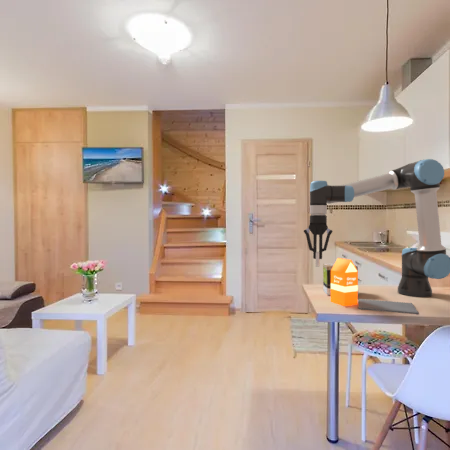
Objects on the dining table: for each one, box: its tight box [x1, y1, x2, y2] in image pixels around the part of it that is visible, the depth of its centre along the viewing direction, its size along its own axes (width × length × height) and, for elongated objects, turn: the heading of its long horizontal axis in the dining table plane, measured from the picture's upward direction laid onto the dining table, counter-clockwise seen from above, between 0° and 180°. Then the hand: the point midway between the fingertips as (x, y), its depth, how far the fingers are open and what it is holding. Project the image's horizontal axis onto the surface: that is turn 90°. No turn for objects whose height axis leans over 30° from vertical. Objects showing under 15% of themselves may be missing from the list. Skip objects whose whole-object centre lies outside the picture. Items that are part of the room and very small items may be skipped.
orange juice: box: [330, 257, 359, 307], centre depth 151 cm, size 8×9×20 cm
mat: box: [358, 298, 419, 315], centre depth 145 cm, size 22×16×1 cm
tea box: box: [322, 263, 359, 296], centre depth 170 cm, size 15×10×15 cm
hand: (317, 266), depth 155 cm, fingers closed
